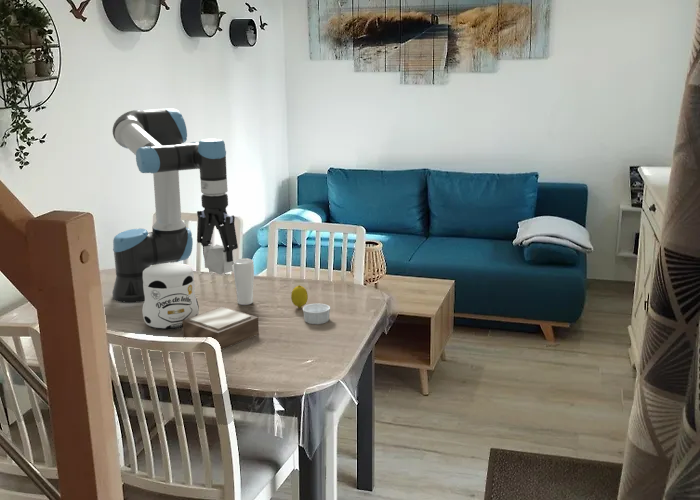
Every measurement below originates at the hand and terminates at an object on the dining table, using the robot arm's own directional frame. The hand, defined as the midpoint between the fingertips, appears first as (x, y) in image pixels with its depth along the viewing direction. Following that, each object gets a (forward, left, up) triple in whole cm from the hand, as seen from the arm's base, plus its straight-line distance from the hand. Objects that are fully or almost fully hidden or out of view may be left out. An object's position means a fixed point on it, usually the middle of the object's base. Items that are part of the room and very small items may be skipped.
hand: (218, 269), depth 214 cm
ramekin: (+14, +28, -21) cm, 38 cm away
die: (0, 0, -1) cm, 1 cm away
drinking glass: (-16, +25, -21) cm, 36 cm away
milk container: (-20, -3, -21) cm, 29 cm away
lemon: (+2, +33, -21) cm, 39 cm away
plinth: (0, 0, -21) cm, 21 cm away
